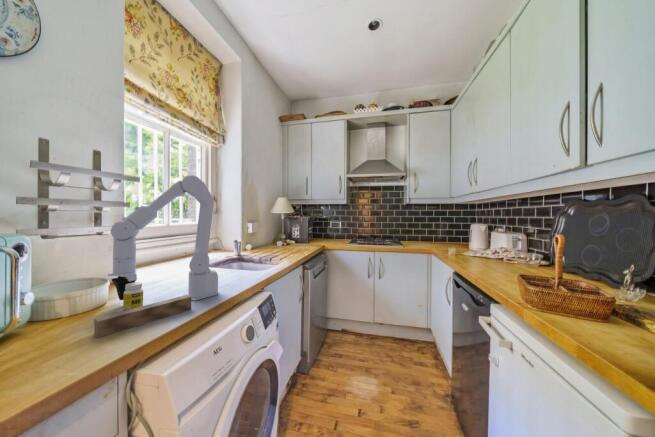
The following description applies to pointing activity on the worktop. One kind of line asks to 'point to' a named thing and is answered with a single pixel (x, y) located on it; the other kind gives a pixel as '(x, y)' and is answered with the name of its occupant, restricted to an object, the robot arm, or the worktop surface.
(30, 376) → the worktop surface
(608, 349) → the worktop surface
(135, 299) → the supplement bottle
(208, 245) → the robot arm
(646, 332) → the worktop surface
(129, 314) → the walnut board
